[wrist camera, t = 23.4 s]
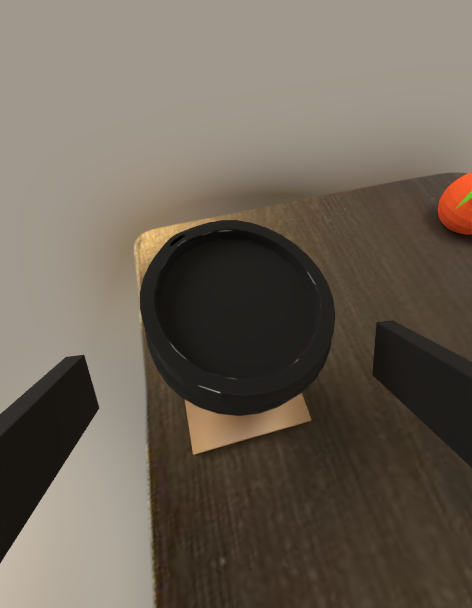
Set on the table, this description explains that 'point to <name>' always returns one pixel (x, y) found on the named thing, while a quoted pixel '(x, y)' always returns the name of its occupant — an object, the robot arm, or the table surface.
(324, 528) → the table surface
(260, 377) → the coffee cup
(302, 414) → the trivet
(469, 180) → the clementine
